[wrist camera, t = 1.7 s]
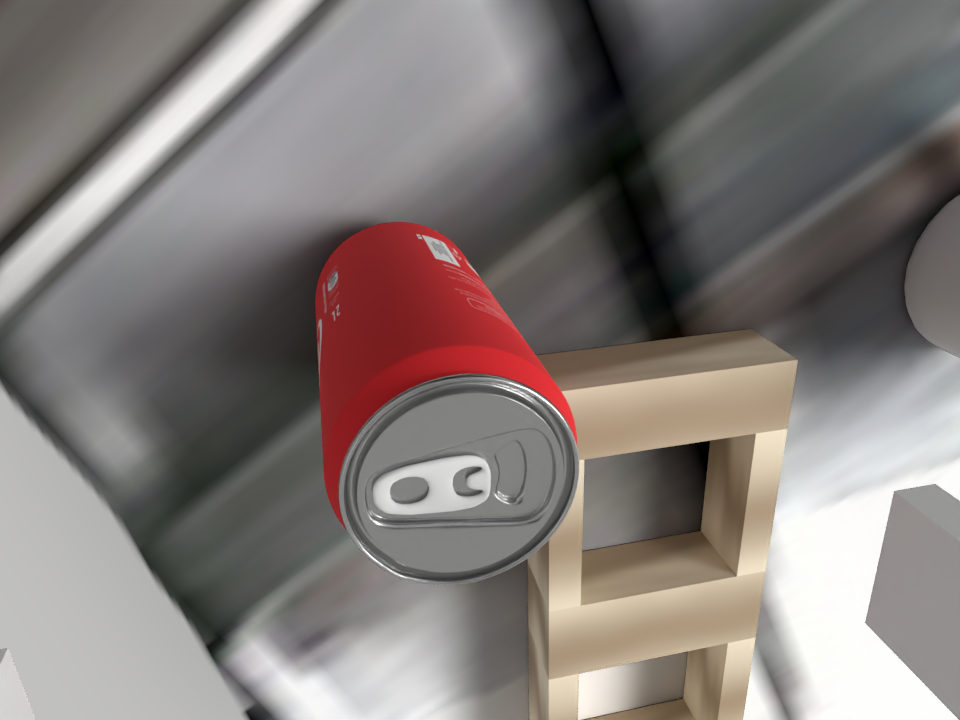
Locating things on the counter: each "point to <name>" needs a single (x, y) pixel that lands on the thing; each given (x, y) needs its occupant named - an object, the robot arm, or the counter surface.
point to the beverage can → (435, 413)
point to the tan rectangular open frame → (674, 559)
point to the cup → (937, 280)
